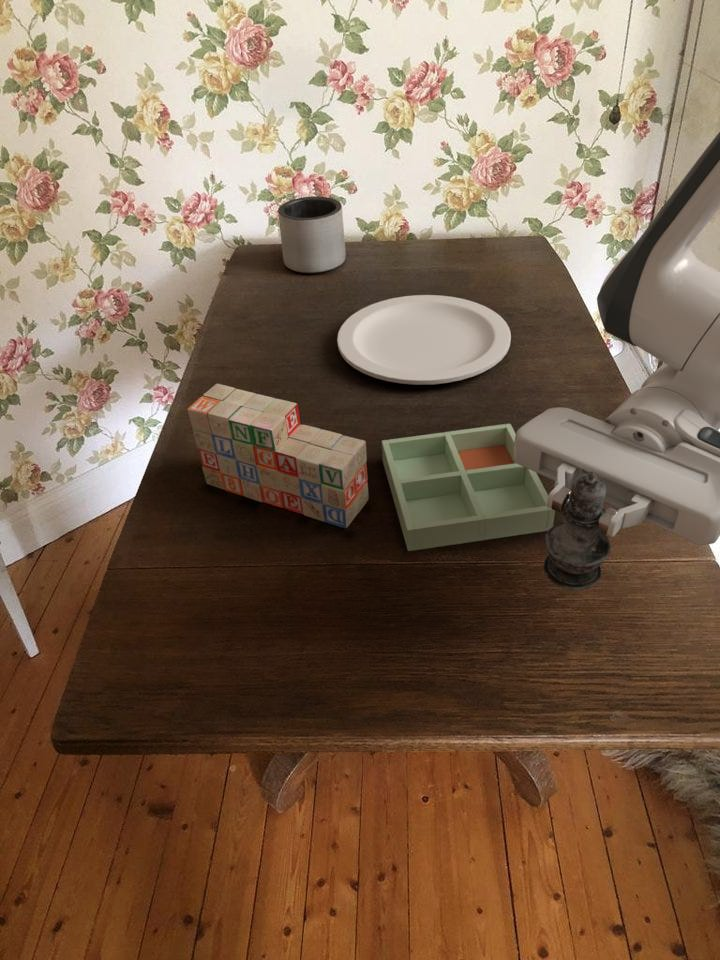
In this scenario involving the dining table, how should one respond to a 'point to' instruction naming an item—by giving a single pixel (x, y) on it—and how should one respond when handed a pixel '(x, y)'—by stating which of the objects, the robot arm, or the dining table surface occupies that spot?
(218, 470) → the stack of blocks
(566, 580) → the grey chess piece
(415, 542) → the grid
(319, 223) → the planter
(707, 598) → the dining table surface
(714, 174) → the robot arm
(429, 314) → the plate
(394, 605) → the dining table surface
